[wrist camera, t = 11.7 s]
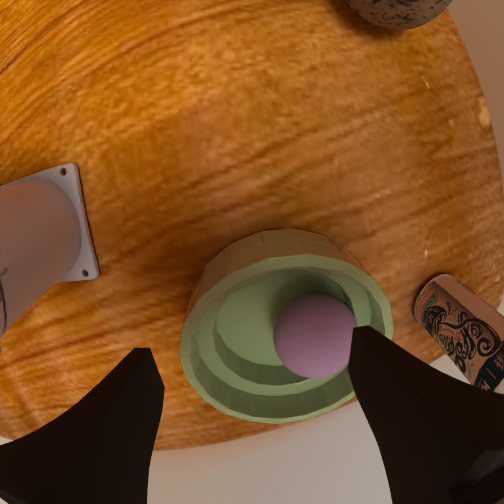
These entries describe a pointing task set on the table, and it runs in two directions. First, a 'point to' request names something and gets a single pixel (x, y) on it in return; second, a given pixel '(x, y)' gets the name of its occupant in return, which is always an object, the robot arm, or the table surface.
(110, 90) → the table surface
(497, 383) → the beer can
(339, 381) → the bowl
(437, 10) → the decorative egg
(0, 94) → the table surface
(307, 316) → the ball
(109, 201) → the table surface
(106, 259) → the table surface
